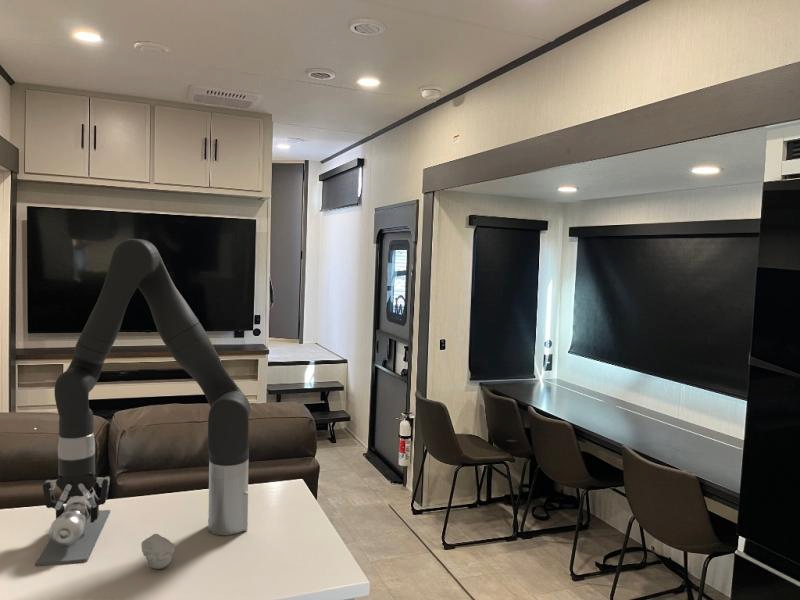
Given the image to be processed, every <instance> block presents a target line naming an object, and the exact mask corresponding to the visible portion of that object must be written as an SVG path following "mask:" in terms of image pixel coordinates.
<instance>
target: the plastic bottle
mask: <svg viewBox="0 0 800 600" xmlns="http://www.w3.org/2000/svg"><path fill="white" fill-rule="evenodd" d="M90 508H91V505H90V503H89V501H87V500H86V498H85V497H84V496H74V497H69V499H68V500H67V502H66V504H65V510H64V512H63V513H62V514H61V515H60V516H59V517H58V518H57V519H56V518H55V520H53V522H52V523H51V526H50V529H49V537H50V539H52V541H53V542H55V543H56V544H58V545H61V546H68V545H71V544H74V543H75V542H76V541H77V540H78V539H79V538H80V537H81V536H82V534H83V530H84V525H85V523H86V521H87V520H88V519H89V518H90V517H91V512H90Z"/></svg>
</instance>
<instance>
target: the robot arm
mask: <svg viewBox="0 0 800 600" xmlns="http://www.w3.org/2000/svg"><path fill="white" fill-rule="evenodd" d="M109 261H110V262H109V266H108V268H107V273H106V276H105V279H104V282H103V286H102V288H101V290H100V293H99V296H98V298H97V301H96V303H95V305H94V307H93V309H92V311H91V313H90V315H89V317H88V320H86V321H87V322H86V323H85V326H84V327H83V329H82V331H81V333H80V335H79V337H78V340H77V341H76V344H75V345H74V355H73V358H72V360H71V361H70V364H69V366H68V367H67V369H66V370H65V371H64V372H62V373H60V375H59V376H58V377H57V379H55V384H54V399H55V400H54V401H55V404H56V406H55V407H56V410H57V413H58V417H59V418H58V434H59V435H58V443H57V460H58V461H57V463H58V466H57V469H58V470H57V471H58V473H57V474H58V476H57V479H50V478H49V479H46V480H45V482H44V483H43V484H42V490H43V496H44V501H45V502H44V503H45V507H46V508H47V509H54V510H55V519H57V518H58V517H59V516H60V515H61V514H62V513H63V512H64V510H65V507H66V505H64V503H65V501H66V500H67V499H68V498H71V497H74V496H84V497H85V498H86V500H87V501H89V503H90V505H91V508H90V512H91V523H93V522H95V520H97V518H98V516H99V509H100V505H101V506H102V505H105V504H106V502H107V500H108V497H109V489H110V480H111V476H109V475H105V476H104V477H102V476H101V477H100V476H98V475H97V473H96V441H95V434H94V431H95V430H94V429H95V428H94V423H95V422H94V413H93V410H92V409H91V408H90V404H89V403H90V399H89V394H90V392H91V391H92V390H93V389H94V388H95V386H96V384H97V382H98V380H99V378H100V375H101V372H102V369H103V366H104V363H105V361H106V359H107V357H108V356H109V353H110V351H111V349H112V348H113V345H114V343H115V341H116V339H117V337H118V334H119V332H120V330H121V326H122V324H123V320H124V316H125V313H126V311H127V307H128V305H129V303H130V301H131V299H132V296H133V295H134V293H135V291H136V290H137V289H138V290H139V291H140V293H141V294H142V295H143V297H144V298H145V301H146V302H147V305H148V307H149V309H150V312H151V315H152V319H153V322H154V325H155V327H156V330H157V332H158V334H159V336H160V338H161V340H162V342H163V343H164V345H165V347H166V349H167V350H168V351H169V353H170V355H171V356H172V358H173V359H174V360H175V362H177V364H178V365H179V366H180V367H181V368H182V369H183V370H184V371H185V372H186V373H187V374H188V375H189V376H191V378H192V379H193V380H194V381H195V382H196V384H198V386H199V387H200V389H201V391H202V393H203V394H204V396H205V398H206V400H207V402H208V405H209V406H210V409H209V411H208V418H207V419H208V420H207V450H208V456H209V457H208V463H209V464H208V469H209V470H208V519H207V523H208V525H207V527H208V528H207V529H208V532H210V533H211V534H214V535H217V536H232V535H235V534H238V533H239V534H240V533H241V532H244V531H245V532H246V531H248V524H249V523H248V521H249V519H248V518H249V517H248V516H249V513H248V512H249V460H250V459H249V457H250V456H249V455H250V449H249V424H250V423H249V419H250V418H249V417H250V414H251V404H250V401H249V400H248V398H247V396H246V395H245V394H244V392H243V391H242V390H241V388H240V387H239V386H238V384H237V383H236V382H235V380H233V378H232V376H231V375H230V373H229V372H228V370H226V368H225V366H224V364H223V362H222V360H221V358H220V356H219V354H218V352H217V350H216V348H215V346H214V345H213V343H212V341H211V339H210V337H209V335H208V334H207V333H206V331H205V329H204V327H203V325H202V323H201V322H200V320H199V319H198V317H197V316H196V315H195V313H194V312H193V310H192V309H191V307H190V306H189V304H188V303H187V301H186V300H185V298H184V297H183V295H182V294H181V293H180V291H179V290H178V289H177V287H176V286H175V283H174V282H173V280H172V278H171V276H170V274H169V272H168V270H167V268H166V265H165V264H164V261H163V258H162V257H161V254H160V253H159V250H158V249H157V247H156V246H155V245H154V244H153V243H152V242H150V241H149V240H147V239H146V240H145V239H142V238H129V239H124V240H123V241H121V242H119V243H118V244H117V245H116V246H115V248H114V250H113V252H112V255H111V258H110V260H109ZM96 483H97V484H98V487H99V488H101V490H100V494H99V495H100V497H98V495H97V494H96V490H95V489H94V486H95V484H96ZM56 486H57V487H58V488H59V489H60V490H61V495H60V497H59V498H58V500H56V497H55V492H54V489H56Z"/></svg>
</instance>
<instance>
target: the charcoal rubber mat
mask: <svg viewBox="0 0 800 600" xmlns="http://www.w3.org/2000/svg"><path fill="white" fill-rule="evenodd" d="M110 514H111V509H104V510H103V509H101V510H99V516H98V518H97V520H95V522H93V523H91V517H90V518H89V519H88V520H87V521H86V523H85V525H84V530H83V534H82V536H81V537H80V538H79V539H78V540H77V541H76V542H75V543H74V544H71V545H68V546H61V545H58V544H56V543H55V542H53V541H52V539H51V538H49V541H48V542H47V543H46V545H45V547H44V548H43V550H42V552H41V553H40V554H39V557H38V558H37V560H36V561H35V563H34V566H35V567H39V566H51V565H64V564H73V563H86V562H88V560H89V559H90V556H91V555H92V552H93V550H94V548H95V546H96V544H97V541H98V539H99V537H100V535H101V533H102V531H103V528H104V526H105V524H106V522H107V519H108V518H109V515H110Z"/></svg>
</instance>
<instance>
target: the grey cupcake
mask: <svg viewBox="0 0 800 600" xmlns="http://www.w3.org/2000/svg"><path fill="white" fill-rule="evenodd" d="M175 549H176V546H175V544H174V543H173V542H172V541H170V540H169V539H168V538H166V537H164V536H162V535H160V534H159V533H153V534H152V535H151V536H149V537H146V538H145V539H144V540H143V541H141V552H142V554H143V556H144V557H145V559H146V561H147V564H148V565H149V566H150V567H151V568H153V569H154V570H162V569H164V568H166V567H167V566H168V565H169V564H170V563H171V561H172V559H173V554H174V552H175Z"/></svg>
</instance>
